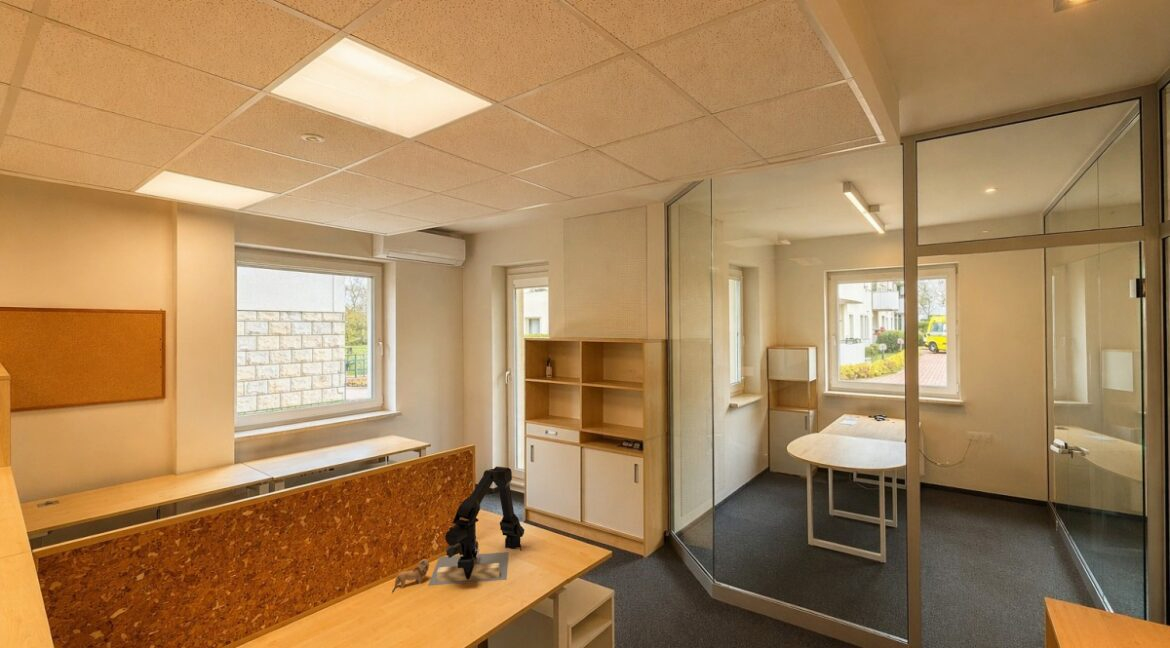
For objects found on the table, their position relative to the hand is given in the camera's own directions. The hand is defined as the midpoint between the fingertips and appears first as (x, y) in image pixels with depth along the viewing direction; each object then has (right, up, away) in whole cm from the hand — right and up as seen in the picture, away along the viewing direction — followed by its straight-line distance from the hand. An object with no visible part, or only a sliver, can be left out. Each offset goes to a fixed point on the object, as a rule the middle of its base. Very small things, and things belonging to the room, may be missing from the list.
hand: (468, 575), depth 198 cm
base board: (-1, -2, +8) cm, 9 cm away
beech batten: (0, -1, 0) cm, 1 cm away
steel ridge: (-2, -1, +13) cm, 13 cm away
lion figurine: (-21, -3, -4) cm, 22 cm away
